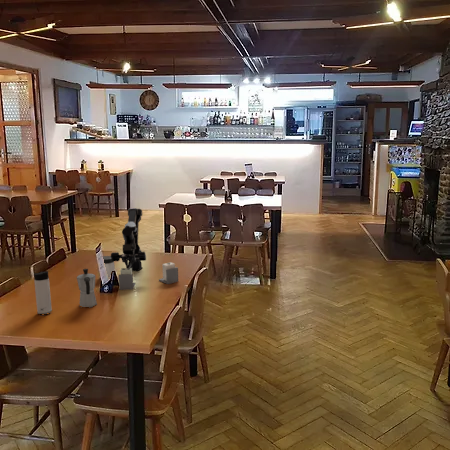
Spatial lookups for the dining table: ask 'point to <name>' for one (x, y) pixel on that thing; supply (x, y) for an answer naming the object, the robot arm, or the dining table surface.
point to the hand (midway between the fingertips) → (127, 270)
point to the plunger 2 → (167, 266)
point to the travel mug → (42, 292)
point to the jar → (109, 264)
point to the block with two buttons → (126, 271)
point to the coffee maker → (87, 289)
